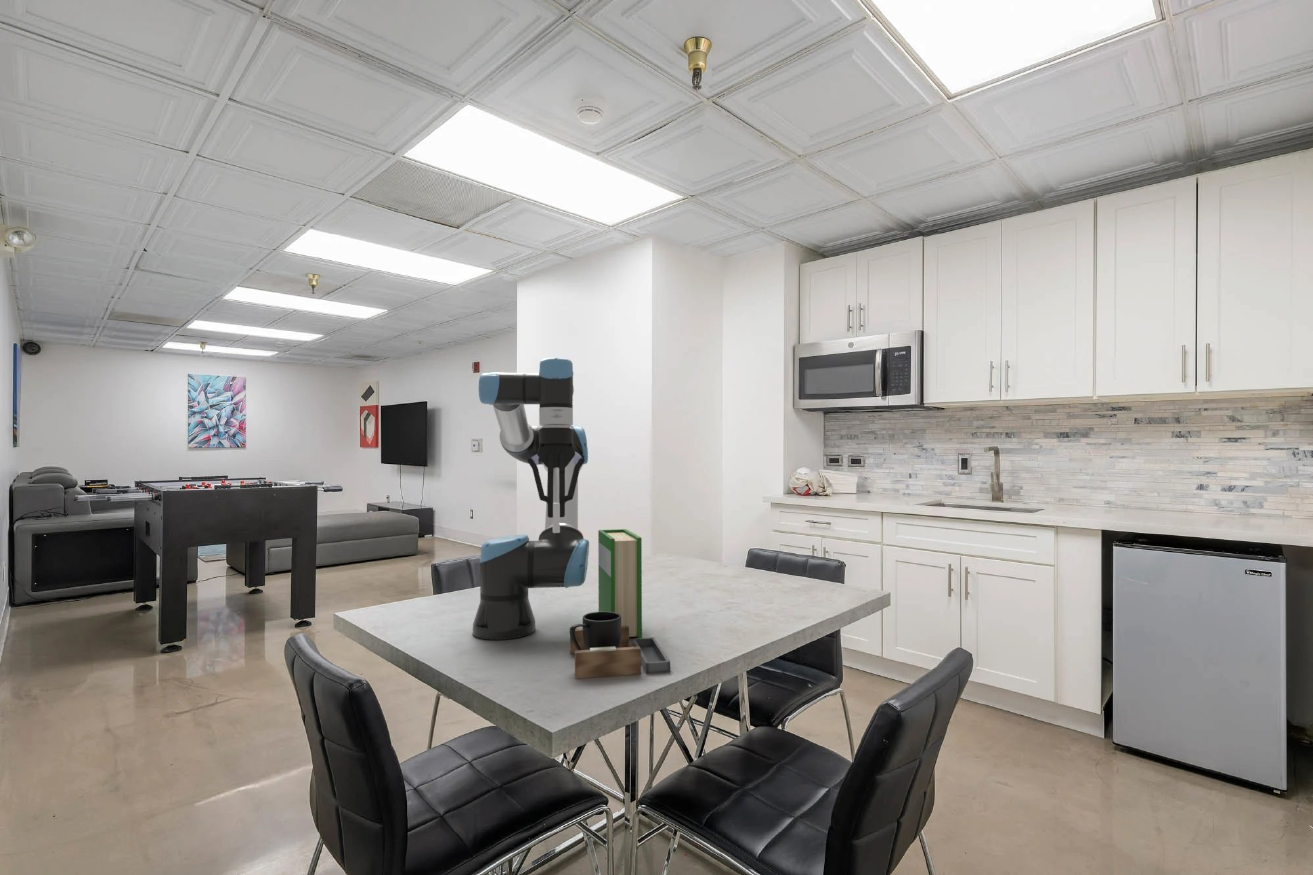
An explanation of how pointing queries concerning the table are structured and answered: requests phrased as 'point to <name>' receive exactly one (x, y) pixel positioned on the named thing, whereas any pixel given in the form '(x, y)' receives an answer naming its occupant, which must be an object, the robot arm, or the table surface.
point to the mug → (599, 630)
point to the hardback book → (621, 577)
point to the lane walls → (606, 658)
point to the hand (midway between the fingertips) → (556, 532)
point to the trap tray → (652, 655)
